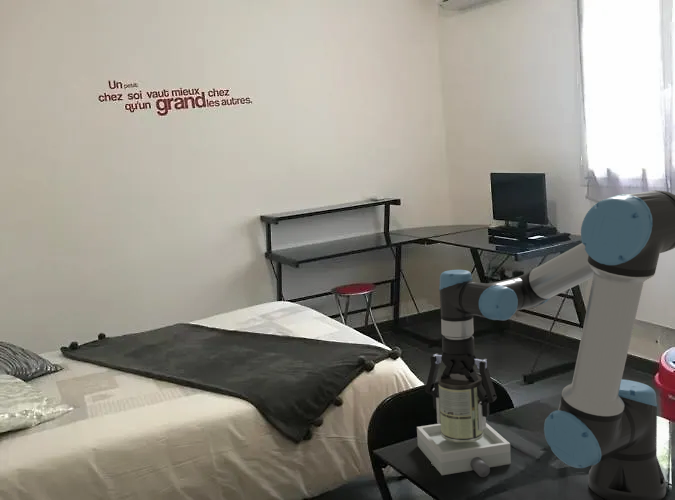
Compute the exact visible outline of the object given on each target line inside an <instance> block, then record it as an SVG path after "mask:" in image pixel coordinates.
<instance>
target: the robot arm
mask: <svg viewBox="0 0 675 500" xmlns="http://www.w3.org/2000/svg"><path fill="white" fill-rule="evenodd" d="M580 240H581V243H579V244H577V245H576V246H574V247H571V248H570V249H568V250H566V251H564V252H562V253H561V254H559V255H557V256H555V257H553V258H552V259H550V260H548V261H546V262H545V263H542V264H540V265H538V266H536V267H535V268H532V269H531V270H529V271H528V272H526V273H524V274H522V275H519V276H515V277H512V278H507V279H504V280H500V281H494V282H489V283H485V282H477V281H474V280H473V277H472V272H470V271H469V270H465V269H450V270H449V269H448V270H445V271H443V272H441V274H440V275H439V289H438V291H439V303H440V305H439V306H440V318H441V319H440V321H441V322H440V323H441V325H440V326H441V329H440V330H441V335H442V337H441V350H442V354H439V353H437V352H436V353H434V354H433V355H431V356H430V369H429V372H428V376H427V379H426V380H427V382H426V385H425V388H424V389H425V390H424V392H425V394H430V395H431V396H432V405H433V406H432V407H433V410H436V422H437V423H436V424H441V421H440V402H439V385H438V383H437V384H436V381H437V378H438V374H439V373H438V372H439V369H440V364H441V363H443V365H444V366H445V368H444V370H443V372H442V374H441V375H442V376H441V375H440V376H441V378H442V379H446V378H448V377H449V376H450V375H451V373H452V374H460V375H465V377H466V378H467V379H468V380H469V382H475V381H477V380H478V377H477V375H476V374H477V372H476V370H475V368H474V366H475V365H476V366H477V369H478V371H479V376H480V377H481V379H482V380H481V384H480V385H479V386H477V396H478V398H479V399H480V401H481V402H480V403H479V404H478V417H479V431H483V430H484V429H485V428H486V423H487V417H488V416H489V415H490V403H491V404H492V403H493V402H495V401H496V400H497V398H498V397H497V394H496V390H495V389H496V388H495V387H494V384H493V383H494V382H493V381H492V377H491V375H490V371H489V360H488V359H487V358H483V359H479V358H477V357H476V355H475V337H474V332H475V330H474V316H475V317H480V318H484V319H485V318H486V319H488V320H492V321H507V320H510V319H511V318H512V316H514V315H515V313H516V312H517V311H520V310H526V309H529V308H536V307H538V306H540V305H543V304H545V303H547V302H548V301H549V300H550V299H551V298H552V297H554V296H555V297H556V296H558V295H560V294H561V293H563V292H566V291H568V290H571V289H572V288H574V287H576V286H578V285H581V284H583V283H585V282H587V281H589V280H591V279H592V281H591V285H590V291H589V295H588V302H587V306H586V312H585V316H584V317H585V318H584V321H583V327H582V331H581V332H582V333H581V337H580V342H579V346H578V347H579V348H578V353H577V357H576V362H575V366H574V373H573V375H572V376H573V378H572V381H571V383H570V384H567V385H566V386H565V387H563V388H562V391H561V395H560V401H559V405H558V409H556V410H553V411H552V412H550V413H549V415H547V417H546V418H545V420H544V424H543V432H544V437H545V440H546V443H547V445H548V446H549V447H550V450H551V452H552V453H553V454H554V456H556V457H557V459H559V460H560V461H561V462H562V463H564V464H565V465H567V466H569V467H572V468H575V469H585V468H587V467H590V466H591V468H590V469H589V472H588V486H589V489H590V490H591V492H593V493H594V494H596V495H597V496H599V497H600V498H602V499H605V500H663V499H665V496H666V494H667V482H666V480H665V476H664V474H663V470H662V467H661V465H660V463H659V460H658V459H659V458H658V456H657V455H658V454H657V451H658V449H657V446H658V445H657V443H658V442H657V437H658V435H657V431H658V430H657V428H658V425H657V424H658V420H657V419H658V413H657V411H658V403H657V394H656V391H655V389H654V388H653V387H651V386H649V385H648V384H645V383H642V382H639V381H635V380H629V379H623V375H624V371H625V367H626V366H625V365H626V362H627V358H628V352H629V349H630V348H629V347H630V344H631V338H632V335H633V330H634V327H635V322H636V317H637V312H638V309H639V303H640V301H641V296H642V290H643V287H644V286H643V285H644V282H646V281H647V280H649V279H651V278H652V277H654V276H655V275H656V270H657V266H658V262H659V258H660V254H661V253H665V252H668V251H671V250H674V249H675V194H674V193H672V192H670V191H665V190H647V191H642V192H637V193H636V192H635V193H628V194H627V193H622V194H616V195H612V196H610V197H608V198H604V199H602V200H600V201H598V202H596V203H595V204H593V206H591V208H590V209H588V211H587V213H586V214H585V216H584V217H583V221H582V224H581V227H580ZM469 372H470V373H469Z"/></svg>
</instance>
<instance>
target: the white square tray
mask: <svg viewBox="0 0 675 500" xmlns="http://www.w3.org/2000/svg"><path fill="white" fill-rule="evenodd" d="M483 433H484V434H483V437H482V438H480V439H479V440H476V441H473V442H464V443H460V442H452V441H448V440H446V439H444V438H443V437H442V436H441V424H438V423H434V424H428V425H421V426H416V434H417V435H416V436H417V437H416V439H417V447H418V448H419V449H420V450H421V452H422V453H423V454H424V455H425V457H426V458H427V459H428V460H429V461H430V463H431V464H432V465H433V466H434V467H435V469H436V470H437V471H438V472H439V473H440V475H441V476H445V475H451V474H458V473H462V472H464V473H465V472H470V471H474V472H475V473H476V474H477V475H478V476H479V477H481V478H486V477H487V476H488V475H489V474H490V473H491V469H490V468H494V467H501V466H507V465H511V464H512V462H511V461H512V460H511V459H512V458H511V443H510V442H509V441H508V440H507V439H506V438H504V437H503V436H502V435H501V434H500V433H498V431H496V429H494V428H493V427H492V426H491V425H489V423H487V422H486V428H485V429H484V430H483Z"/></svg>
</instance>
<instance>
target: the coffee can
mask: <svg viewBox="0 0 675 500" xmlns="http://www.w3.org/2000/svg"><path fill="white" fill-rule="evenodd" d="M469 373H470V372H469ZM476 375H477V377H478V380H477V381H475V382H469V380H468V379H467V378H466V377H465V375H460V374H452V373H451V375H450V376H449V377H448V378H446V379H442V378H441V376H442V374H441V375H439V376H437V384H438V385H439V402H440V421H441V436H442V437H443V438H444V439H446V440H448V441H452V442H460V443H464V442H473V441H476V440H479V439H480V438H482V437H483V434H484V433H483V431H479V417H478V404H479V403H480V402H481V401H480V399H479V398H478V396H477V386H479V385H480V384H482V379H481V375H480V374H477V373H476Z"/></svg>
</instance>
